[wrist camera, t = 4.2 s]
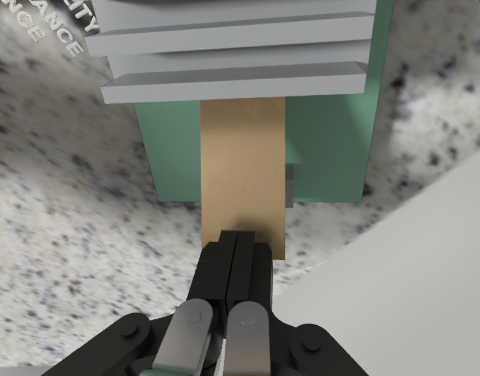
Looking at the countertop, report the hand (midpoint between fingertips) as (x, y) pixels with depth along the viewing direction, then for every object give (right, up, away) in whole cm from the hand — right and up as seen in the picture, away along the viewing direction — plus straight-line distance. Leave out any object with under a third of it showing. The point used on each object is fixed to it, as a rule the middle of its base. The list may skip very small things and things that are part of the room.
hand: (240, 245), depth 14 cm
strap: (0, +3, +2) cm, 4 cm away
